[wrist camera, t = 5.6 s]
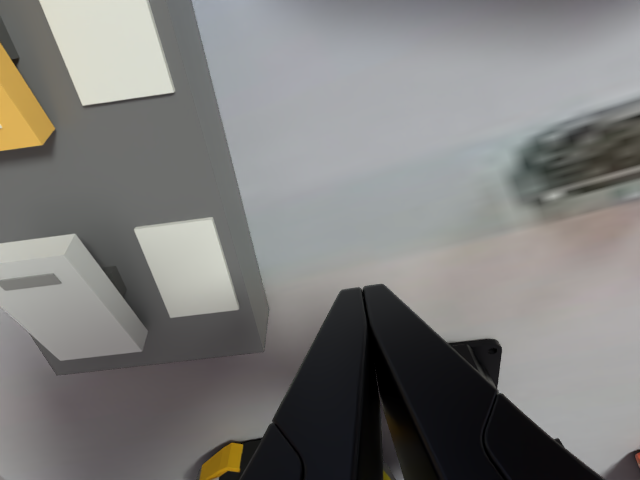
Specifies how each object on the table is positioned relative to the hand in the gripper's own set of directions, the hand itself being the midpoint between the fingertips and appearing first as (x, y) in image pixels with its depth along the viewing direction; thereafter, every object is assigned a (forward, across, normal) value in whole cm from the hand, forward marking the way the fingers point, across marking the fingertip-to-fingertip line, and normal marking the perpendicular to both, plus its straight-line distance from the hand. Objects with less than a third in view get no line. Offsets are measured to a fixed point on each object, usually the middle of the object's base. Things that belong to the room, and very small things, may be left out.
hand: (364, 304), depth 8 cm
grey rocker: (+6, +11, +3) cm, 13 cm away
